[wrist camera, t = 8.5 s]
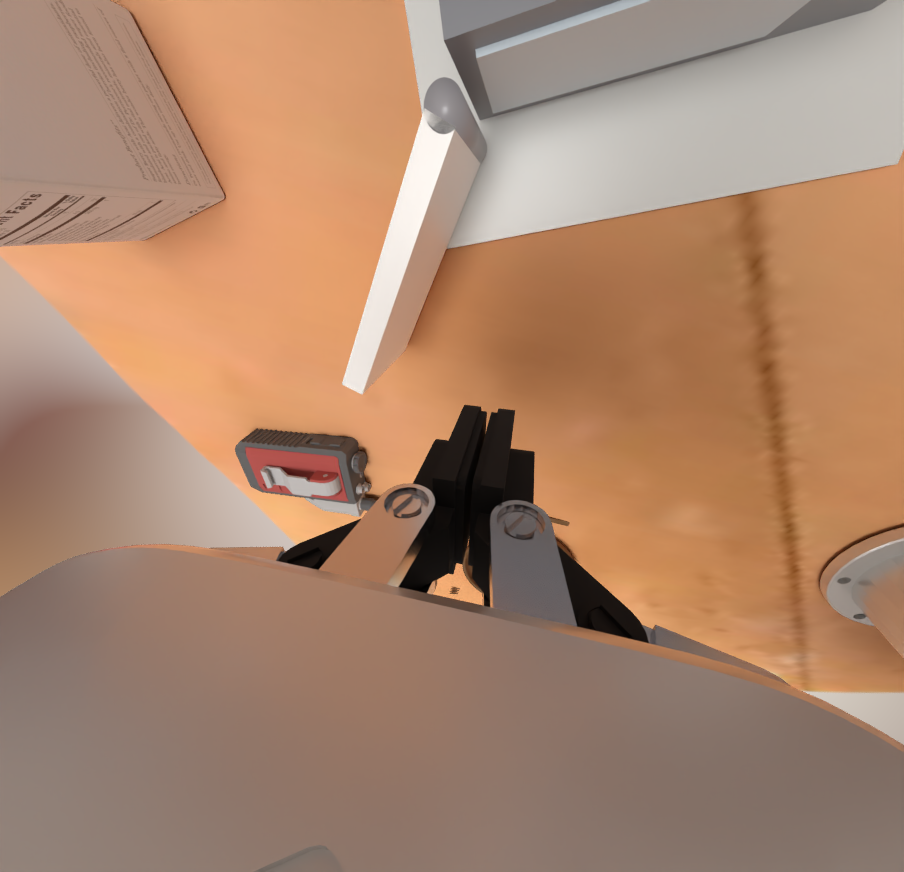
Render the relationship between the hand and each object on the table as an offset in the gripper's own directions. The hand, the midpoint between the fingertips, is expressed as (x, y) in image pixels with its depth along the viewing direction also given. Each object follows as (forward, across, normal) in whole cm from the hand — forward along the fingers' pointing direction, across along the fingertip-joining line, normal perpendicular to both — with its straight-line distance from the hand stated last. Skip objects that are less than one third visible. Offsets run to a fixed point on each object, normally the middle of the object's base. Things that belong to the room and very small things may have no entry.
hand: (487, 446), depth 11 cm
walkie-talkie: (+15, +16, +14) cm, 26 cm away
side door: (+13, +6, -5) cm, 15 cm away
